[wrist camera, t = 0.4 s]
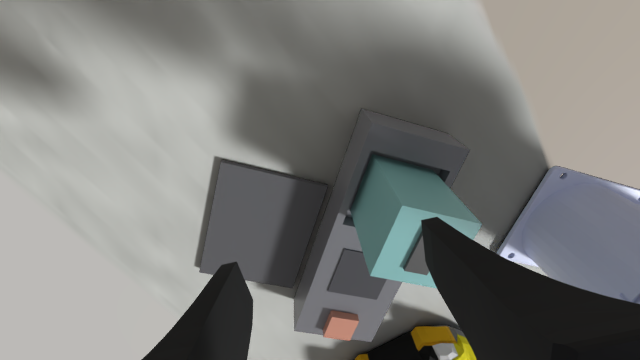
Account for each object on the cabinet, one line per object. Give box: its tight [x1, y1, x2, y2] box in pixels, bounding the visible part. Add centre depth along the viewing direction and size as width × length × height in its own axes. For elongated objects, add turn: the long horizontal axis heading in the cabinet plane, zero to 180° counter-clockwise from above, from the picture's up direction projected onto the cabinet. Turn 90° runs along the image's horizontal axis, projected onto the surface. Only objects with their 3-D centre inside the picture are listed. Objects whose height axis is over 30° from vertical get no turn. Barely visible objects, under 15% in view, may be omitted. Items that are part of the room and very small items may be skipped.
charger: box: [350, 154, 482, 288], centre depth 19 cm, size 4×4×6 cm
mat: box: [199, 160, 327, 288], centre depth 24 cm, size 7×9×1 cm
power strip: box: [294, 109, 470, 342], centre depth 23 cm, size 16×6×4 cm, turn 163°
